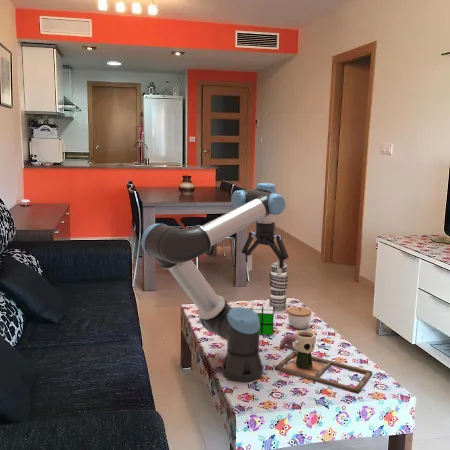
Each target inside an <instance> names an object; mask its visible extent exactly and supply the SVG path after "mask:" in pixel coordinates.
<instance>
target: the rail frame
mask: <svg viewBox="0 0 450 450" xmlns="http://www.w3.org/2000/svg"><path fill="white" fill-rule="evenodd" d="M297 353H298V352H297V351H296V350H295V351H292V352H291V353H289V354H288V355H287V356H286V357H285V358H284V359H282V360H281V361H280V362H279V363H278V364H276V365H275V366H274V369H273V370H275V371H277V372H282V373H285V374H288V375H293V376H295V377H299V378H303V379H306V380H309V381H313V382H316V383H319V384H323V385H327V386H330V387H334V388H337V389H342V390H345V391H349V392H351V393H355V394H359V393H360V392H361V390H362V389H363V387H364V386H365V385H366V384H367V382H368V381H369V379H370V378H371V376H372V375H373V371H372V370H368V369H364V368H360V367H356V366H352V365H349V364H345V363H340V362H337V361H333V360H329V359H326V358H325V359H324V358H323V357H322V358H321V357H317V356H313V355H312V367H311V365H309V368H300V367H299V366H297V365H296V359H297ZM331 366H333V367H337V368H341V369H344V370H348V371H352V372H357V373H360V374H364V376H363V377H362V379H360V380H359V382H358V384H357V385H356V386H355V387H354V386H351V385H346V384H344V383H340V382H336V381H333V380H329V379H325V378H322V377H321V376H323V374H325V372H326V371H327V370H328V369H329V367H331Z"/></svg>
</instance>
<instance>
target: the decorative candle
mask: <svg viewBox="0 0 450 450" xmlns="http://www.w3.org/2000/svg"><path fill="white" fill-rule="evenodd" d="M270 266H271V269H270V272H269V285H270V286H269V289H270V295H269V305H268V307H274V314H283V313H286V311H287V294H286V292H287V291H286V290H287V289H288V288H287V286H288V279H289V277H287V276H288V275H287V274H288V271H287V267H288V264H286V262H284V267H283V268H282V272H281V275H280V276H277V261H274V262H273V263H272V264H271V265H270Z"/></svg>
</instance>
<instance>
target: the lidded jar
mask: <svg viewBox="0 0 450 450" xmlns="http://www.w3.org/2000/svg"><path fill="white" fill-rule="evenodd" d="M311 317H312V310H311V309H310V308H307V307H305V306H304V307H302V306H293V307H290V308H288V309H287V319H288V322H289V324H290V325H291V327H292V328H294V329H297V330H303V329H305V328H307V326H309V324H310V322H311Z"/></svg>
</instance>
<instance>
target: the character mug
mask: <svg viewBox="0 0 450 450" xmlns="http://www.w3.org/2000/svg"><path fill="white" fill-rule="evenodd" d="M295 335H296V341H295V342H293V349H294V350H295V351H296V352H297V351H298V353H297V356H296V357H297V359H296V365H297V366H299V367H300V368H309V365H311V367H312V361H313V360H312V356H313V355H312V353H313V352H314V350H315V346H316V345H315V344H316V341H317V339H316V338H317V337H316V335H315V333H314V332H312V331H309V330H299V331H296V333H295Z"/></svg>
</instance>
